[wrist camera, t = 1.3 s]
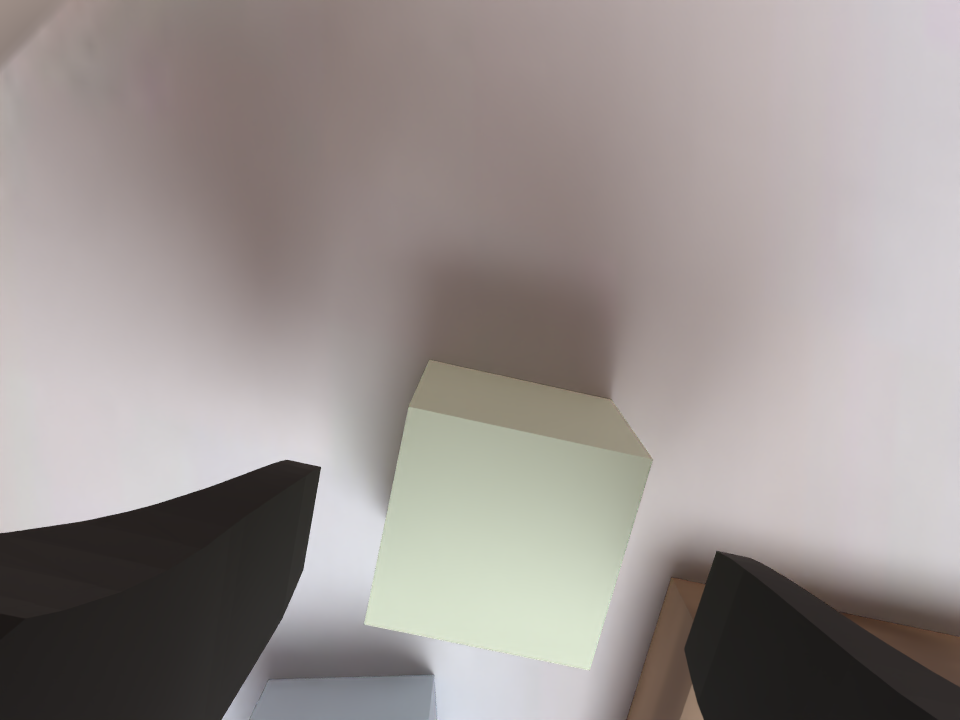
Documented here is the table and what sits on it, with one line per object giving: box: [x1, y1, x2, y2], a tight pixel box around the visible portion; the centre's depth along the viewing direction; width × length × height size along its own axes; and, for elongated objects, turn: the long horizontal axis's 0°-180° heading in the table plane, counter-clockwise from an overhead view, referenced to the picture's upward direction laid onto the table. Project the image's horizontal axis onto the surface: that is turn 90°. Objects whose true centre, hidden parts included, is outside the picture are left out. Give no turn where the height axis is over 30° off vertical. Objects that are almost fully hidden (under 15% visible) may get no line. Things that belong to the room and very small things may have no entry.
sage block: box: [364, 360, 653, 670], centre depth 13 cm, size 4×4×4 cm
